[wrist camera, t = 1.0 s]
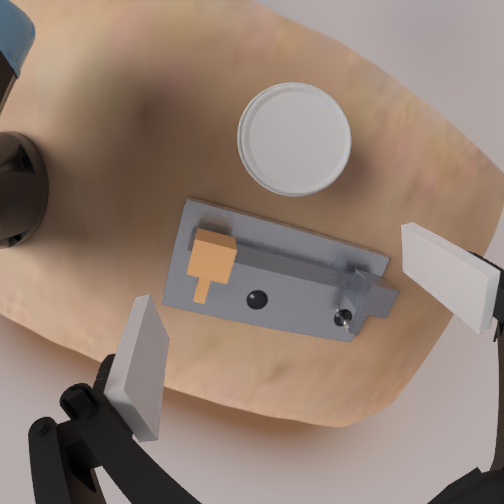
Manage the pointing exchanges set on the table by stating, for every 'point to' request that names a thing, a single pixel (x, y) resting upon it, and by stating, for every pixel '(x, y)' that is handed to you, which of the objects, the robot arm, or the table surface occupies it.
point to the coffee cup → (294, 139)
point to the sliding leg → (211, 260)
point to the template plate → (281, 275)
